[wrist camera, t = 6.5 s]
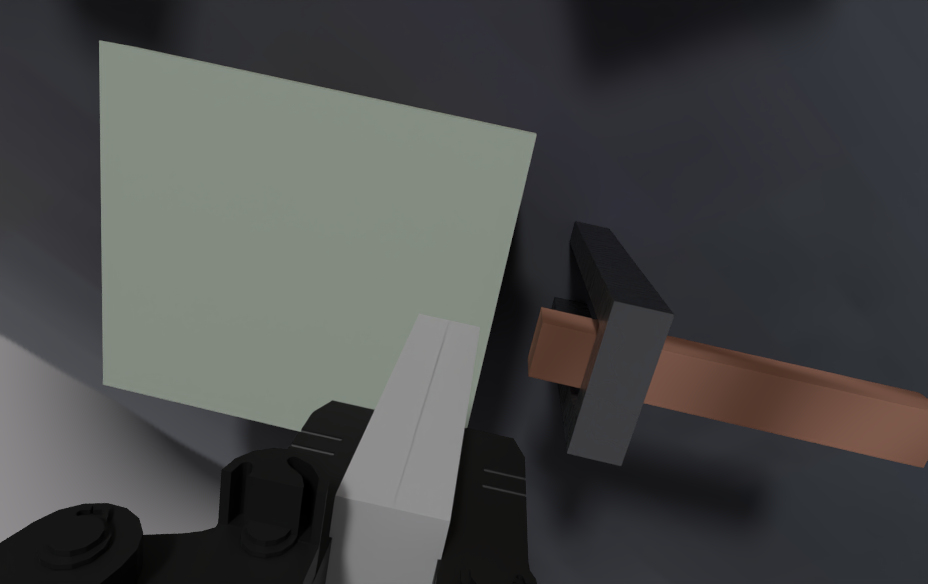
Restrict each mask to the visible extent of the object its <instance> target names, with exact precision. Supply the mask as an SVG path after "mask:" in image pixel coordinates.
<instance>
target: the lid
mask: <svg viewBox="0 0 928 584" xmlns="http://www.w3.org/2000/svg"><path fill="white" fill-rule="evenodd" d="M99 68H100V153H101V238H102V323H103V385H107V386H111V387H115V388H120V389H124V390H128V391H132V392H136V393H141V394H145V395H149V396H153V397H157V398H161V399H166V400H170V401H174V402H178V403H182V404H186V405H191V406H195V407H199V408H203V409H207V410H212V411H216V412H220V413H224V414H228V415H232V416H237V417H241V418H245V419H249V420H253V421H258V422H262V423H266V424H270V425H274V426H278V427H283V428H287V429H291V430H295V431H299V432H301V429H302V427H303V426H304V424H305V423H306V421H307V420H308V418H309V417H310V415H311V414H312V412H314V411H315V410H317V409H319V408H320V407H322V406H324V405H325V404H327V403H329V402H331V401H332V400H333V401H338V402H342V403H347V404H351V405H356V406H360V407H365V408H369V409H374V410H375V408H376V406H377V404H378V402H379V400H380V397H381V395H382V393H383V391H384V389H385V387H386V384H387V382H388V380H389V378H390V376H391V374H392V371H393V369H394V367H395V365H396V363H397V361H398V358H399V356H400V354H401V352H402V350H403V348H404V346H405V343H406V341H407V339H408V337H409V335H410V333H411V330H412V328H413V326H414V324H415V322H416V320H417V317H418V315H419V314H423V315H428V316H432V317H437V318H441V319H446V320H451V321H455V322H460V323H464V324H469V325H473V326H478V327H480V331H479V337H478V344H477V350H476V357H475V363H474V370H473V376H472V383H471V389H470V396H469V402H468V409H467V415H466V422H465V428H467V427H468V423H469V418H470V414H471V410H472V406H473V401H474V397H475V393H476V389H477V384H478V380H479V376H480V372H481V368H482V363H483V359H484V355H485V351H486V346H487V342H488V338H489V334H490V330H491V325H492V321H493V317H494V313H495V308H496V304H497V300H498V296H499V292H500V287H501V283H502V279H503V275H504V270H505V266H506V262H507V258H508V254H509V249H510V245H511V241H512V237H513V232H514V228H515V224H516V220H517V216H518V211H519V207H520V203H521V199H522V194H523V190H524V186H525V182H526V178H527V173H528V169H529V165H530V161H531V156H532V152H533V148H534V144H535V140H536V135H537V134H536V133H533V132H528V131H523V130H519V129H514V128H509V127H505V126H500V125H495V124H491V123H486V122H481V121H477V120H472V119H468V118H463V117H458V116H454V115H449V114H444V113H440V112H435V111H430V110H426V109H421V108H417V107H412V106H407V105H403V104H398V103H393V102H389V101H384V100H379V99H375V98H370V97H366V96H361V95H356V94H352V93H347V92H342V91H338V90H333V89H328V88H324V87H319V86H315V85H310V84H305V83H301V82H296V81H291V80H287V79H282V78H277V77H273V76H268V75H263V74H259V73H254V72H250V71H245V70H240V69H236V68H231V67H226V66H222V65H217V64H212V63H208V62H203V61H199V60H194V59H189V58H185V57H180V56H175V55H171V54H166V53H161V52H157V51H152V50H148V49H143V48H138V47H133V46H128V45H122V44H117V43H111V42H106V41H100V40H99Z"/></svg>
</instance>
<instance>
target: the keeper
mask: <svg viewBox="0 0 928 584" xmlns="http://www.w3.org/2000/svg"><path fill="white" fill-rule="evenodd" d="M570 244H571V247H572V250H573V253H574V255H575V258H576V261H577V264H578V266H579V269H580V272H581V275H582V277H583V280H584V283H585V286H586V289H587V291H588V294H589V297H590V300H591V302H592V305H593V308H594V311H595V313H596V316H597V319H598V322H599V324H600V325H599V328H598V332H597V335H596V338H595V342H594V345H593V348H592V351H591V355H590V358H589V361H588V364H587V368H586V371H585V374H584V378H583V381H582V384H581V387H580V388H577V387H572V386H568V385H564V384H559V383H558V387H559V395H560V403H561V411H562V419H563V426H564V434H565V442H566V450H567V454H572V455H576V456H580V457H584V458H588V459H593V460H597V461H601V462H605V463H610V464H614V465H618V466H621V465H622V462H623V460H624V457H625V454H626V451H627V448H628V445H629V442H630V440H631V437H632V434H633V431H634V428H635V425H636V423H637V420H638V417H639V414H640V411H641V408H642V405H643V403H644V400H645V397H646V394H647V391H648V388H649V386H650V383H651V380H652V377H653V374H654V371H655V368H656V366H657V363H658V360H659V357H660V354H661V351H662V349H663V346H664V343H665V340H666V337H667V334H668V331H669V329H670V326H671V323H672V320H673V317H674V314H673V312H672V311H671V310H670V308H669V307H668V306H667V304H666V303H665V302H664V300H663V299H662V298H661V296H660V295H659V294H658V292H657V291H656V290H655V289H654V287H653V286H652V285H651V283H650V282H649V281H648V279H647V278H646V277H645V275H644V274H643V273H642V271H641V270H640V269H639V267H638V266H637V265H636V263H635V262H634V261H633V259H632V258H631V257H630V256H629V254H628V253H627V252H626V250H625V249H624V248H623V246H622V245H621V244H620V242H619V241H618V240H617V238H616V237H615V236H614V234H613V233H612V232H611V230H610V229H608V228H603V227H599V226H594V225H590V224H585V223H581V222H576V221H575V224H574V228H573V231H572V235H571V239H570ZM551 309H552V310H556V311H561V312H565V313H570V314H574V315H578V316H583V317H587V318H591V315H590V312H589V309H588V306H587V304H583V303H578V302H574V301H570V300H565V299H561V298H556V297H554V301H553V305H552V308H551Z"/></svg>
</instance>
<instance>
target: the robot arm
mask: <svg viewBox="0 0 928 584" xmlns="http://www.w3.org/2000/svg"><path fill="white" fill-rule="evenodd" d="M479 331H480V327H478V326H473V325H469V324H464V323H460V322H455V321H451V320H446V319H441V318H437V317H432V316H428V315H423V314H419V315H418V317H417V320H416V322H415V324H414V326H413V328H412V330H411V333H410V335H409V337H408V339H407V341H406V343H405V346H404V348H403V350H402V352H401V354H400V356H399V358H398V361H397V363H396V365H395V367H394V369H393V371H392V374H391V376H390V378H389V380H388V382H387V384H386V387H385V389H384V391H383V393H382V395H381V397H380V400H379V402H378V404H377V406H376V408H375V410H374V409H369V408H365V407H360V406H356V405H351V404H347V403H342V402H338V401H333V400H332V401H331V402H329V403H327V404H325V405H324V406H322V407H320V408H319V409H317V410H315V411H314V412H312V414H311V415H310V417H309V418H308V420H307V421H306V423H305V424H304V426H303V427H302V429H301V432H299V433H298V435H297V436H296V438H295V439H294V441H293V442H292V445H291V447H289V448H288V449H279V448H272V449H264V450H257V451H253V452H250V453H248V454H245V455H243V456H240V457H238V458H235V459H234V460H233V461H232V462H231V463H229V464H228V465H227V466H226V467H225V468H223V469H222V473H221V488H220V504H219V505H220V506H219V520H218V524H217V526H216V527H215V528H212V529H208V530H204V531H200V532H192V533H183V534H156V535H143V531H142V527H141V523H140V520H139V518H138V517H137V516H136V515H134V514H133V513H132V512H131V511H129V510H128V509H127V508H124V507H120V506H116V505H113V504H109V503H95V504H81V505H77V506H74V507H69V508H65V509H61V510H58V511H56V512H54V513H52V514H49V515H47V516H45V517H43V518H41V519H39V520H37V521H35V522H33V523H31V524H30V525H28V526H27V527H25V528H23V529H22V530H20V531H19V532H17V533H15V534H14V535H12V536H11V537H9V538H7V539H6V540H4V541H2V542H1V543H0V584H537V582H536V579H535V577H534V576H533V574H532V573H531V572H530V569H529V564H528V543H527V512H526V497H525V495H526V481H525V457H524V455H523V454H522V452H521V450H520V449H519V447H518V445H517V444H516V442H515V440H514V439H513V438H509V437H504V436H500V435H495V434H491V433H486V432H482V431H477V430H473V429H468V428H465V422H466V415H467V409H468V402H469V396H470V389H471V383H472V376H473V370H474V363H475V357H476V350H477V344H478V337H479Z"/></svg>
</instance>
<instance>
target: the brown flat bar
mask: <svg viewBox="0 0 928 584" xmlns="http://www.w3.org/2000/svg"><path fill="white" fill-rule="evenodd" d="M599 325H600V324H599V322H598V320H596V319H592V318H587V317H583V316H578V315H574V314H570V313H565V312H561V311H556V310H552V309H548V308H543V307H541V310H540V314H539V318H538V322H537V325H536V329H535V333H534V337H533V340H532V344H531V348H530V352H529V355H528V376H529V377H534V378H538V379H542V380H546V381H551V382H555V383H559V384H564V385H568V386H572V387H577V388H580V387H581V384H582V381H583V378H584V374H585V371H586V368H587V364H588V361H589V358H590V355H591V351H592V348H593V345H594V342H595V338H596V335H597V332H598V328H599ZM644 403H646V404H650V405H654V406H659V407H663V408H667V409H671V410H676V411H680V412H684V413H689V414H693V415H697V416H702V417H706V418H710V419H715V420H719V421H723V422H727V423H732V424H736V425H740V426H745V427H749V428H753V429H758V430H762V431H766V432H771V433H775V434H779V435H784V436H788V437H792V438H796V439H801V440H805V441H809V442H814V443H818V444H822V445H827V446H831V447H835V448H840V449H844V450H848V451H852V452H857V453H861V454H865V455H870V456H874V457H878V458H883V459H887V460H891V461H896V462H900V463H904V464H909V465H913V466H917V467H921V468H923V467H924V466H925V464H926V462H927V460H928V399H927V398H926V397H924V396H923V395H921V394H920V393H917V392H913V391H909V390H904V389H900V388H895V387H891V386H887V385H882V384H878V383H873V382H869V381H865V380H860V379H856V378H851V377H847V376H843V375H838V374H834V373H829V372H825V371H821V370H816V369H812V368H807V367H803V366H799V365H794V364H790V363H785V362H781V361H777V360H772V359H768V358H763V357H759V356H755V355H750V354H746V353H741V352H737V351H733V350H728V349H724V348H719V347H715V346H711V345H706V344H702V343H697V342H693V341H689V340H684V339H680V338H675V337H671V336H667V337H666V340H665V343H664V346H663V349H662V351H661V354H660V357H659V360H658V363H657V366H656V368H655V371H654V374H653V377H652V380H651V383H650V386H649V388H648V391H647V394H646V397H645V400H644Z"/></svg>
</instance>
